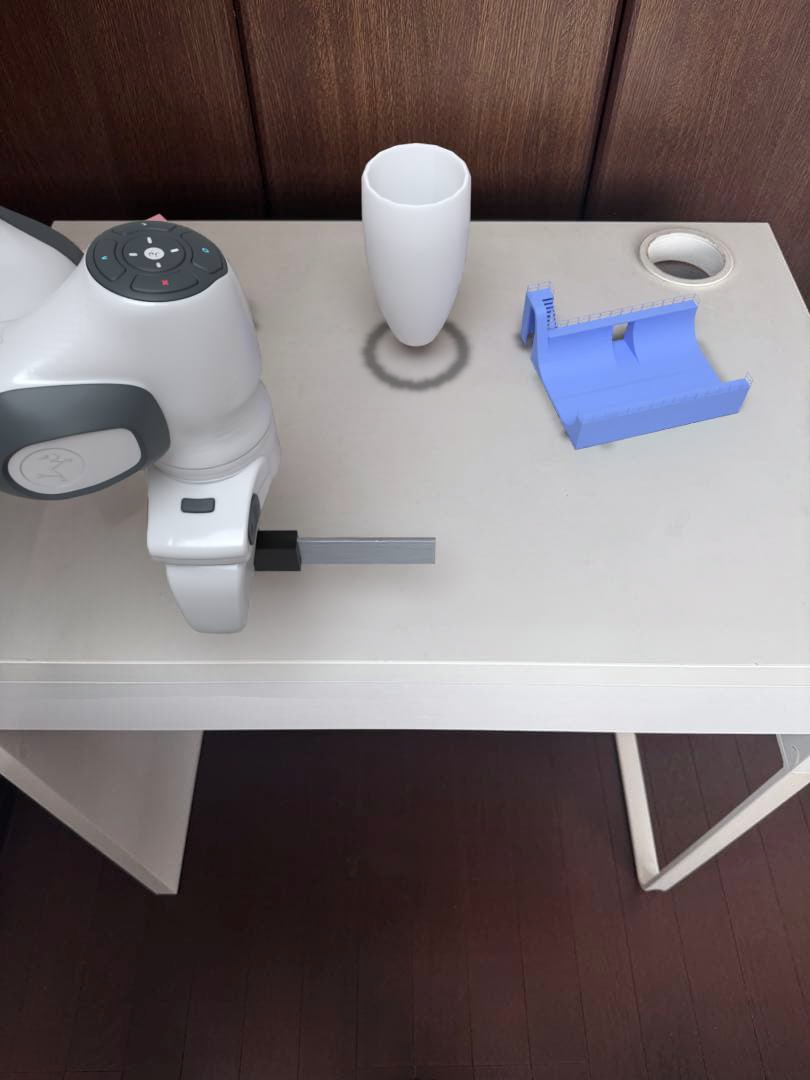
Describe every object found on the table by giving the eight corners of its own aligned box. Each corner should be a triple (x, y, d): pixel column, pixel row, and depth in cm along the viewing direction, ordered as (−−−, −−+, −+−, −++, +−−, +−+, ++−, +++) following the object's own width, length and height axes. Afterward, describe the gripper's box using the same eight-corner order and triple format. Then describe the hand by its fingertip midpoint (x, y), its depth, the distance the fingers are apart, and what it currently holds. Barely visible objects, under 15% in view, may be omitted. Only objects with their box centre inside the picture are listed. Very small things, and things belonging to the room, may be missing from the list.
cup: (352, 370, 94) (338, 194, 76) (390, 307, 99) (385, 129, 81) (442, 397, 91) (450, 223, 73) (477, 332, 97) (491, 154, 78)
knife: (203, 571, 72) (194, 549, 69) (206, 553, 72) (197, 530, 70) (435, 571, 71) (435, 548, 68) (434, 552, 72) (435, 529, 69)
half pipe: (575, 449, 87) (587, 401, 81) (519, 337, 96) (527, 285, 90) (738, 412, 90) (761, 362, 84) (670, 305, 99) (686, 253, 93)
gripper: (188, 334, 65) (223, 451, 76) (141, 572, 54) (190, 666, 65) (273, 334, 65) (295, 451, 76) (243, 572, 53) (274, 666, 65)
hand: (246, 552), depth 71 cm, fingers closed on knife, 2 cm apart
